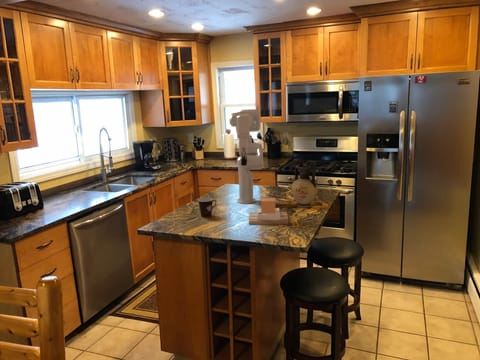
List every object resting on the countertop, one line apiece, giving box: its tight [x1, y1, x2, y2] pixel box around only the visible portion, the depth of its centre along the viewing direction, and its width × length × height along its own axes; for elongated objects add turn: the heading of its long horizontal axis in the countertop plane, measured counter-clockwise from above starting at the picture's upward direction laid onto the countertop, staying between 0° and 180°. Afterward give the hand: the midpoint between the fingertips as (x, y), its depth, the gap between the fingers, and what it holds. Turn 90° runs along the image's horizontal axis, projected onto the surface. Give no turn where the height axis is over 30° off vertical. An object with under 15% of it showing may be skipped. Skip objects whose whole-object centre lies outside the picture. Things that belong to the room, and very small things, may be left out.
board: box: [248, 211, 289, 225], centre depth 224 cm, size 16×22×2 cm
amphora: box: [290, 158, 319, 208], centre depth 250 cm, size 18×17×30 cm
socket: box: [256, 207, 280, 220], centre depth 224 cm, size 13×13×4 cm
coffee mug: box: [197, 197, 217, 218], centre depth 235 cm, size 12×9×10 cm
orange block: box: [260, 197, 276, 213], centre depth 223 cm, size 7×8×9 cm
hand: (244, 164), depth 236 cm, fingers open, 9 cm apart
